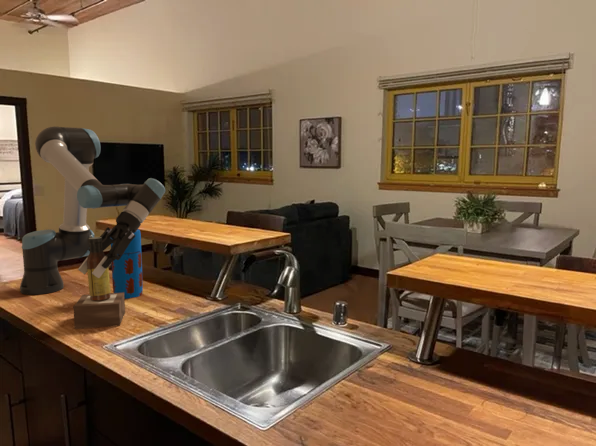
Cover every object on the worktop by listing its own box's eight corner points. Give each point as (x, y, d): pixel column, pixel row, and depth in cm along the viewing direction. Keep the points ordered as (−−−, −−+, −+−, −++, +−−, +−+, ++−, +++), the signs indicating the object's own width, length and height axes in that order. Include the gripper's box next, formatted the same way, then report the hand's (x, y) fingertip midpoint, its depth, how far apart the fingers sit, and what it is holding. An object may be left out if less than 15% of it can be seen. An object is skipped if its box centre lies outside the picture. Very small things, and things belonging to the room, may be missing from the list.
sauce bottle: (115, 297, 148) (112, 236, 145) (101, 302, 142) (97, 239, 139) (98, 295, 150) (95, 235, 147) (84, 300, 144) (80, 238, 141)
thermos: (147, 291, 180) (145, 228, 177) (135, 299, 169) (132, 233, 166) (121, 290, 181) (118, 228, 178) (107, 298, 170) (104, 232, 167)
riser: (83, 315, 151) (82, 294, 150) (125, 312, 154) (124, 292, 153) (74, 328, 139) (73, 306, 138) (119, 325, 142) (118, 303, 141)
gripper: (157, 227, 149) (115, 285, 138) (121, 222, 161) (79, 275, 150) (143, 212, 144) (97, 271, 133) (107, 208, 156) (62, 262, 145)
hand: (88, 273), depth 142 cm, fingers open, 7 cm apart
